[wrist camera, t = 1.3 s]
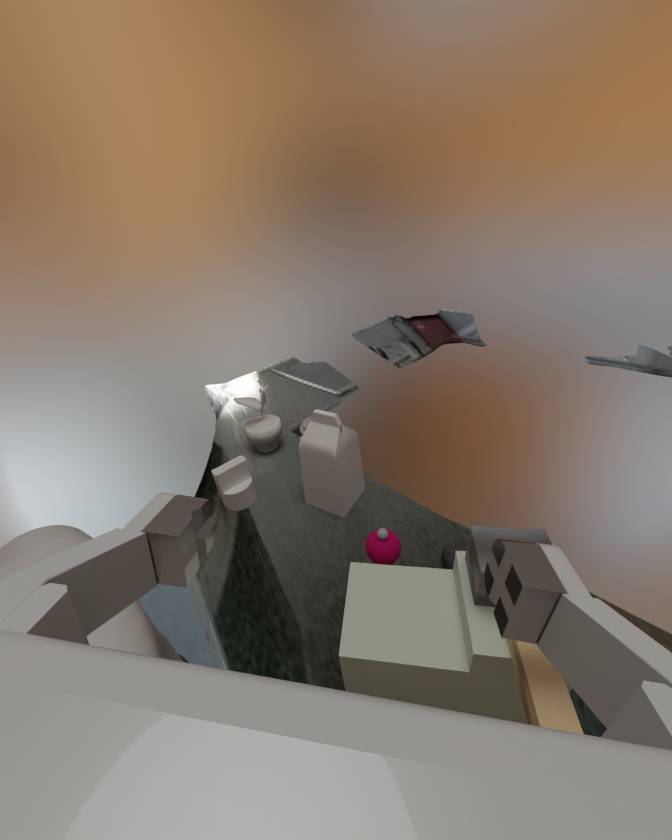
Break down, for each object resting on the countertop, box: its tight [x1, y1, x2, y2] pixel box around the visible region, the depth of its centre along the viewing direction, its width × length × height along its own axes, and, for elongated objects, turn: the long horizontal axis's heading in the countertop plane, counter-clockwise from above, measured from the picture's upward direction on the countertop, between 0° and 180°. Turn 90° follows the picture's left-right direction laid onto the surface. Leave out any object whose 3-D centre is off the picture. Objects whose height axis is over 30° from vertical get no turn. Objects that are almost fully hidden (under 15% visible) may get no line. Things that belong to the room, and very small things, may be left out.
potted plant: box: [234, 376, 282, 453], centre depth 106 cm, size 13×12×25 cm
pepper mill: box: [365, 528, 401, 566], centre depth 60 cm, size 7×7×20 cm
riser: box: [339, 551, 572, 724], centre depth 45 cm, size 12×24×26 cm, turn 81°
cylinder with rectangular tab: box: [211, 455, 257, 511], centre depth 90 cm, size 9×9×12 cm
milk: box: [299, 409, 365, 518], centre depth 84 cm, size 12×12×26 cm
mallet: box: [465, 526, 583, 734], centre depth 31 cm, size 21×8×6 cm, turn 171°
